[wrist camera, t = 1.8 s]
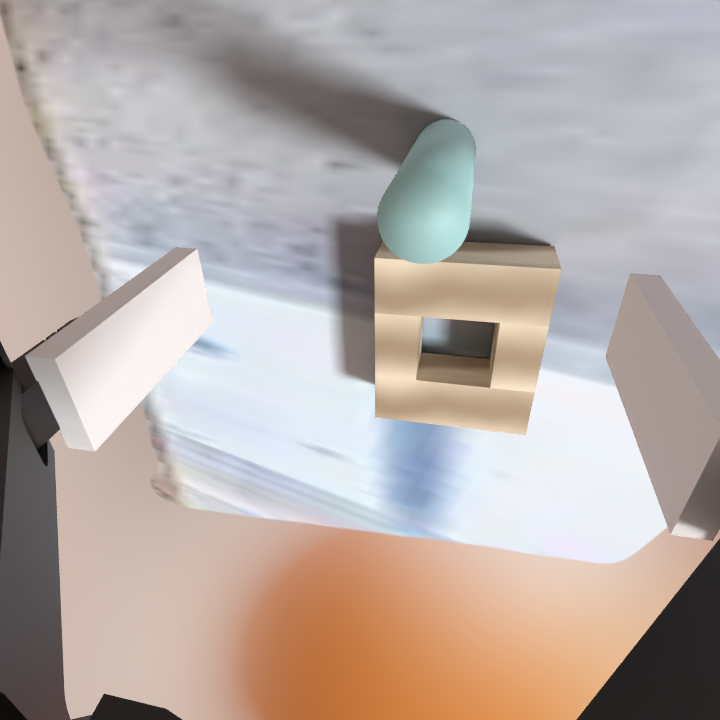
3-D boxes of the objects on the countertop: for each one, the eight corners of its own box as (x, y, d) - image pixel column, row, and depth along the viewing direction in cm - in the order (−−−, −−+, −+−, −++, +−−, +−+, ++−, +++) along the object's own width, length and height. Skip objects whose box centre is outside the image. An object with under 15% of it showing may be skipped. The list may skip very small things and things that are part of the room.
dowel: (415, 118, 32) (376, 170, 21) (478, 119, 31) (474, 173, 20) (413, 182, 34) (377, 261, 23) (472, 184, 34) (465, 266, 22)
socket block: (384, 237, 37) (374, 258, 34) (554, 246, 35) (561, 269, 31) (383, 388, 45) (375, 417, 41) (522, 403, 42) (525, 434, 39)
